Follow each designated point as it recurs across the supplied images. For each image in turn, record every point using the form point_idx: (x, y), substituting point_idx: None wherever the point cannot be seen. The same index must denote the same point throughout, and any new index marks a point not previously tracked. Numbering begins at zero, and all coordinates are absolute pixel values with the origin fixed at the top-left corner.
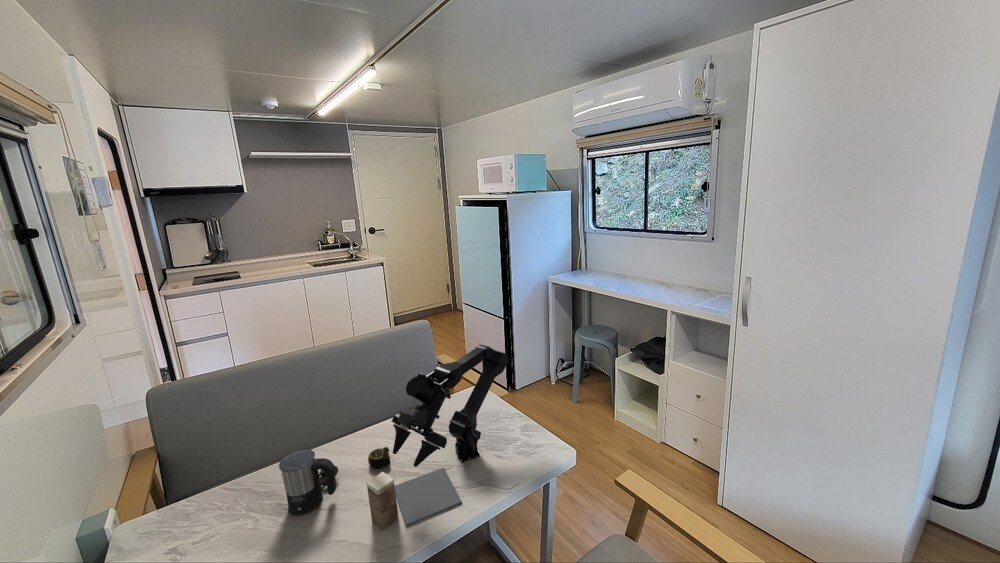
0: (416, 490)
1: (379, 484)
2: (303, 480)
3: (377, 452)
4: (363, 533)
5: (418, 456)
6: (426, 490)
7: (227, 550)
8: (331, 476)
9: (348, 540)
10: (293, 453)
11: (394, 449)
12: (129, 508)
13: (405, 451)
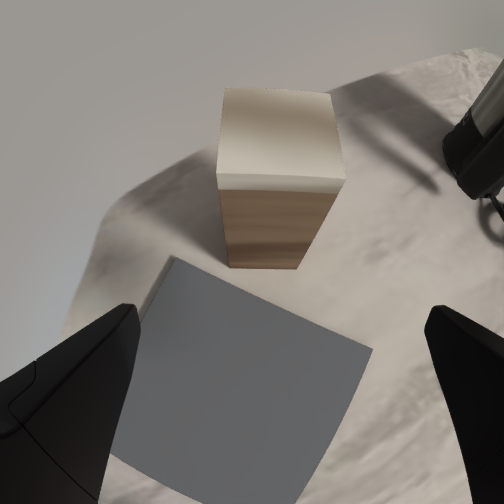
0: (275, 394)
1: (256, 110)
2: (492, 90)
3: None
4: None
5: (65, 349)
6: (238, 417)
7: (429, 64)
8: (489, 147)
9: None
10: None
11: (454, 318)
12: None
13: (465, 469)
